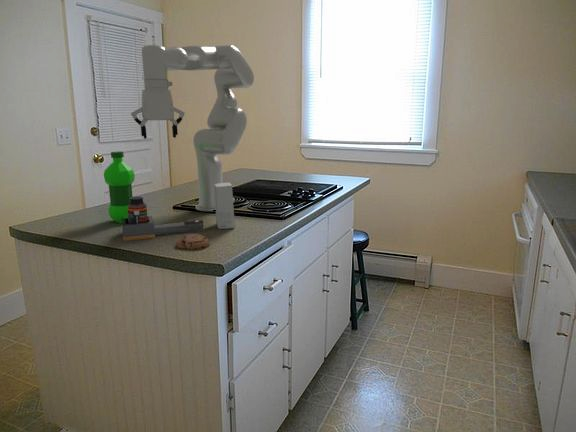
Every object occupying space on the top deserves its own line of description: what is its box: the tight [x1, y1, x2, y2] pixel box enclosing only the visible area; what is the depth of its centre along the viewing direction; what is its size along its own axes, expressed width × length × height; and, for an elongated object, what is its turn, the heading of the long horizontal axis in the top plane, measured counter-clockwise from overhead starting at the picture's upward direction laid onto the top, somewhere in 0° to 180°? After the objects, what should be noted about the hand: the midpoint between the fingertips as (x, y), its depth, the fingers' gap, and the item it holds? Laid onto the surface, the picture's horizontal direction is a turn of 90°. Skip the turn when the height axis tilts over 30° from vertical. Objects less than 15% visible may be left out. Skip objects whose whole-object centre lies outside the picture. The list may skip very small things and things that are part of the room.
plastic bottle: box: [103, 151, 136, 224], centre depth 165 cm, size 10×10×25 cm
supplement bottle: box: [127, 196, 148, 224], centre depth 149 cm, size 6×6×11 cm
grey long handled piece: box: [121, 215, 204, 242], centre depth 152 cm, size 26×10×5 cm, turn 111°
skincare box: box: [214, 182, 236, 230], centre depth 159 cm, size 8×6×15 cm
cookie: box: [175, 233, 210, 251], centre depth 140 cm, size 10×11×3 cm
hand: (159, 137), depth 156 cm, fingers open, 9 cm apart
